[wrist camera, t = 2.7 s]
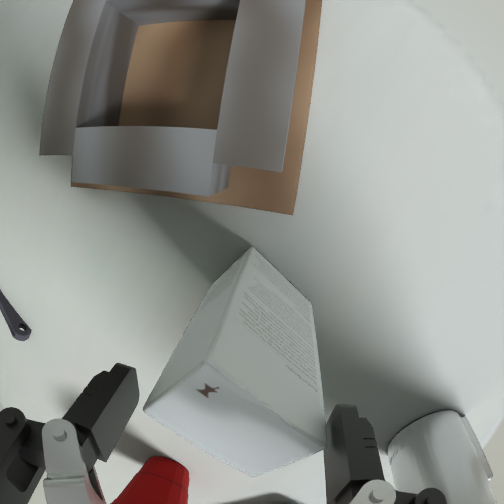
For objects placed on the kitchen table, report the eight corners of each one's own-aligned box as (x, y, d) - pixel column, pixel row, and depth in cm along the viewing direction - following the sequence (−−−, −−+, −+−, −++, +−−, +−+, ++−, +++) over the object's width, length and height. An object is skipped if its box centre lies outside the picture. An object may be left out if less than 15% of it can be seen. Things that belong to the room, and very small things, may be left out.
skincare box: (210, 284, 20) (135, 408, 9) (252, 243, 19) (204, 357, 8) (271, 339, 21) (252, 480, 10) (314, 304, 20) (333, 447, 9)
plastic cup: (171, 440, 27) (137, 524, 16) (223, 483, 29) (206, 556, 18) (114, 444, 30) (79, 508, 18) (164, 485, 32) (141, 545, 20)
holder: (321, -7, 13) (330, -54, 8) (292, 211, 18) (294, 232, 13) (114, -1, 14) (76, -28, 9) (80, 184, 19) (28, 195, 14)
